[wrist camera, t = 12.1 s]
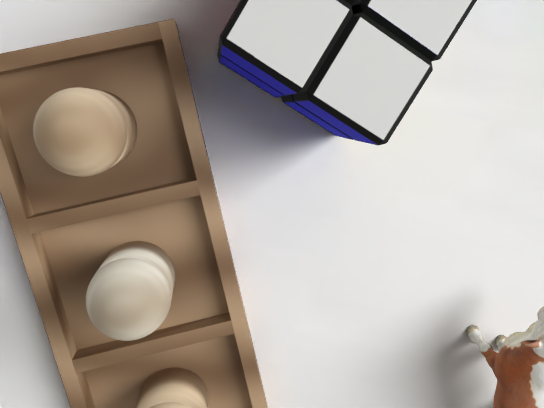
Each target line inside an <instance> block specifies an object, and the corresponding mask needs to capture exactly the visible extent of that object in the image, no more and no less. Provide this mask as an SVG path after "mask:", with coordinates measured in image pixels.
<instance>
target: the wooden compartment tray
mask: <svg viewBox="0 0 544 408" xmlns="http://www.w3.org/2000/svg"><path fill="white" fill-rule="evenodd" d="M75 87H82V88H89V89H95V90H102V91H106V92H110V93H112V94H114V95H116V96H118V97H119V98H121V99H122V100H123V101H124V102H125V103H126V104H127V105H128V106H129V107H130V109H131V110H132V112H133V114H134V116H135V119H136V122H137V130H138V132H137V139H136V143H135V146H134V148H133V149H132V151H131V152H130V154H129V155H128V156H127V157H126V158H125V159H124V160H122V161H121V162H119V163H117V164H116V165H114V166H113V167H111V168H109V169H108V170H106V171H104V172H102V173H100V174H96V175H93V176H87V177H79V176H72V175H68V174H65V173H62V172H60V171H58V170H56V169H55V168H53V167H52V166H51V165H50V164H48V163H47V162H46V161H45V160H44V158H43V157H42V156H41V154H40V153H39V151H38V149H37V147H36V144H35V141H34V136H33V124H34V119H35V116H36V113H37V111H38V109H39V108H40V106H41V105H42V103H43V102H44V101H45V100H46V99H48V98H49V97H50V96H51V95H53V94H54V93H56V92H58V91H61V90H64V89H67V88H75ZM0 192H1V195H2V198H3V201H4V205H5V208H6V211H7V214H8V217H9V220H10V223H11V226H12V229H13V232H14V235H15V238H16V241H17V244H18V247H19V250H20V253H21V256H22V259H23V262H24V266H25V269H26V272H27V275H28V278H29V281H30V284H31V287H32V290H33V293H34V296H35V299H36V302H37V305H38V308H39V311H40V314H41V317H42V320H43V323H44V327H45V330H46V333H47V336H48V339H49V342H50V345H51V348H52V351H53V354H54V357H55V360H56V363H57V366H58V369H59V372H60V375H61V378H62V381H63V384H64V388H65V391H66V394H67V397H68V400H69V403H70V406H71V408H136V406H137V402H138V398H139V394H140V390H141V388H142V386H143V384H144V383H145V381H146V380H147V379H148V378H149V377H150V376H151V375H152V374H154V373H156V372H157V371H160V370H162V369H165V368H171V367H179V368H184V369H188V370H190V371H192V372H194V373H195V374H197V375H198V376H199V377H200V378H201V379H202V380H203V382H204V383H205V385H206V388H207V391H208V408H268V406H267V402H266V398H265V394H264V390H263V385H262V381H261V377H260V373H259V369H258V364H257V360H256V356H255V352H254V348H253V343H252V339H251V335H250V331H249V327H248V322H247V318H246V314H245V310H244V306H243V301H242V297H241V293H240V289H239V285H238V281H237V276H236V272H235V268H234V264H233V260H232V255H231V251H230V247H229V243H228V239H227V234H226V230H225V226H224V222H223V218H222V213H221V209H220V205H219V201H218V197H217V192H216V188H215V184H214V180H213V176H212V172H211V167H210V163H209V159H208V155H207V151H206V146H205V142H204V138H203V134H202V130H201V125H200V121H199V117H198V113H197V109H196V104H195V100H194V96H193V92H192V88H191V83H190V79H189V75H188V71H187V67H186V63H185V58H184V54H183V50H182V46H181V42H180V37H179V33H178V29H177V25H176V22H175V19H170V20H165V21H160V22H155V23H150V24H145V25H140V26H135V27H130V28H126V29H121V30H116V31H111V32H106V33H101V34H96V35H91V36H86V37H81V38H76V39H71V40H66V41H61V42H56V43H51V44H46V45H41V46H36V47H32V48H27V49H22V50H17V51H12V52H7V53H2V54H0ZM131 241H145V242H149V243H152V244H154V245H156V246H158V247H160V248H161V249H162V250H164V251H165V252H166V253H167V255H168V256H169V257H170V259H171V261H172V263H173V265H174V269H175V282H174V288H173V294H172V300H171V306H170V309H169V312H168V314H167V317H166V318H165V320H164V321H163V323H162V324H161V325H160V326H159V327H158V328H157V329H156V330H155V331H154V332H152V333H151V334H149V335H147V336H145V337H143V338H140V339H137V340H131V341H122V340H117V339H113V338H110V337H108V336H106V335H104V334H103V333H101V332H100V331H99V330H98V329H97V328H96V327H95V326H94V325H93V323H92V321H91V320H90V318H89V315H88V312H87V309H86V293H87V289H88V286H89V284H90V281H91V279H92V278H93V276H94V275H95V273H96V272H97V270H98V269H99V268H100V266H101V265H102V263H103V262H104V260H105V259H106V257H107V256H108V255H109V254H110V252H111V251H113V250H114V249H115V248H116V247H118V246H120V245H122V244H124V243H127V242H131Z"/></svg>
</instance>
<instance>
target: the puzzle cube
mask: <svg viewBox="0 0 544 408" xmlns="http://www.w3.org/2000/svg"><path fill="white" fill-rule="evenodd" d="M476 1H477V0H240V2H239V4H238V6H237V7H236V9H235V11H234V12H233V14H232V16H231V18H230V19H229V21H228V23H227V25H226V26H225V28H224V30H223V31H222V33H221V35H220V40H219V49H218V59H219V62H220V63H222V64H223V65H225V66H226V67H228V68H229V69H231V70H233V71H234V72H236V73H237V74H239V75H241V76H242V77H244V78H245V79H247V80H248V81H250V82H252V83H253V84H255V85H256V86H258V87H260V88H261V89H263V90H264V91H266V92H267V93H269V94H271V95H272V96H274V97H280V96H282V100H283V103H285V104H287V105H288V106H290V107H291V108H293V109H294V110H296V111H298V112H299V113H301V114H302V115H304V116H306V117H307V118H309V119H310V120H312V121H313V122H315V123H317V124H318V125H320V126H321V127H323V128H325V129H326V130H328V131H329V132H331V133H332V134H334V135H336V136H339V137H344V138H348V139H352V140H353V139H354V140H357V141H361V142H366V143H370V144H375V145H382V144H385V143H387V142H388V140H389V139H390V137H391V135H392V134H393V132H394V131H395V129H396V127H397V126H398V124H399V123H400V121H401V119H402V118H403V116H404V115H405V113H406V112H407V110H408V108H409V107H410V105H411V104H412V102H413V100H414V99H415V97H416V96H417V94H418V92H419V91H420V89H421V88H422V86H423V84H424V83H425V81H426V80H427V78H428V77H429V75H430V73H431V72H432V70H433V69H432V63H431V61H434V60H439V59H440V58H441V56H442V55H443V53H444V52H445V50H446V48H447V47H448V45H449V44H450V42H451V40H452V39H453V37H454V36H455V34H456V33H457V31H458V29H459V28H460V26H461V25H462V23H463V21H464V20H465V18H466V17H467V15H468V13H469V12H470V10H471V9H472V7H473V6H474V4H475V2H476Z"/></svg>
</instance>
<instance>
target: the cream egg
mask: <svg viewBox="0 0 544 408" xmlns="http://www.w3.org/2000/svg"><path fill="white" fill-rule="evenodd" d="M174 282H175V269H174V265H173V263H172V261H171V259H170V257H169V256H168V255H167V253H166V252H165V251H164V250H162V249H161V248H160V247H158V246H156V245H154V244H152V243H149V242H145V241H131V242H127V243H124V244H122V245H120V246H118V247H116V248H115V249H114V250H113V251H111V252H110V254H109V255H108V256H107V257H106V259H105V260H104V262H103V263H102V265H101V266H100V268H99V269H98V270H97V272H96V273H95V275H94V276H93V278H92V279H91V281H90V284H89V286H88V289H87V293H86V309H87V312H88V315H89V318H90V320H91V321H92V323H93V325H94V326H95V327H96V328H97V329H98V330H99V331H100V332H101V333H103V334H104V335H106V336H108V337H110V338H113V339H117V340H122V341H131V340H137V339H140V338H143V337H145V336H147V335H149V334H151V333H152V332H154V331H155V330H156V329H157V328H158V327H159V326H160V325H161V324H162V323H163V321H164V320H165V318H166V317H167V314H168V312H169V309H170V306H171V300H172V294H173V288H174Z"/></svg>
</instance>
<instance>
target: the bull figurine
mask: <svg viewBox="0 0 544 408" xmlns="http://www.w3.org/2000/svg"><path fill="white" fill-rule="evenodd" d="M467 335H468V336H469V337H470V338H471V342H472V343H475V344H477V345H479V347H480V351H481V353H482V354H483V355H484V357H485V358H486V360H487V362H488V364H489V366H490V367H491V368H492V370H493V372H494V374H495V376H496V378H497V386H496V391H495V396H494V408H544V307H542V308H541V309H540V310H539V311H538V321H537V322H535V323H533V324H531V325H530V327H529V328H528V329H527V330H526V332H516V333H513V334H511V335H510V336H509V337H507V338H506V337H505V336H504V335H500V336H498V337H497V339H496V344H497V346H498V348H499V349H498V351H499V353H496V352H494V351H493V348H492V346H491V345H489V344H487V343H486V342H485V341H484V339H483V337H482V335H481V333H480V331H479V329H478V327H477V326H474V325H472V326H470V327H468V329H467Z"/></svg>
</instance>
